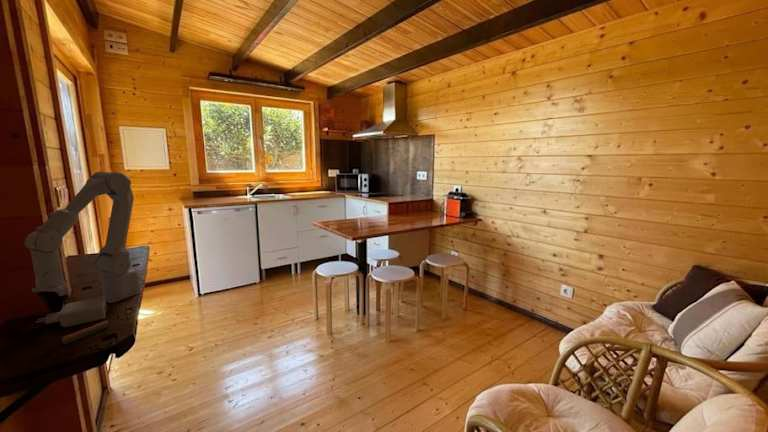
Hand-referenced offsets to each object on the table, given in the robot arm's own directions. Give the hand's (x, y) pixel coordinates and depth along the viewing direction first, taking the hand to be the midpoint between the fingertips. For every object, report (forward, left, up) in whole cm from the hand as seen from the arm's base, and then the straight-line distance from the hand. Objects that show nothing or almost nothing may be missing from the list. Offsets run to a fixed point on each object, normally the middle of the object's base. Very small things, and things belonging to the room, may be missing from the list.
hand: (56, 312), depth 98 cm
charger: (-1, +6, -2) cm, 6 cm away
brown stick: (+1, +19, -2) cm, 19 cm away
